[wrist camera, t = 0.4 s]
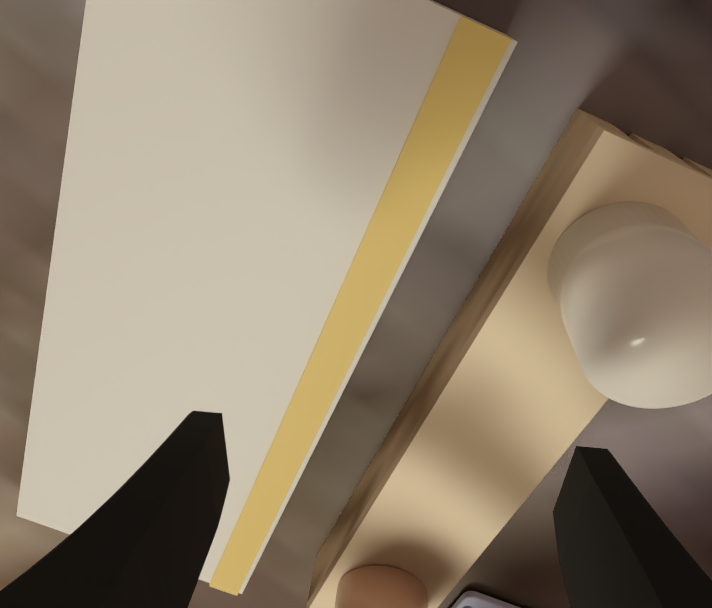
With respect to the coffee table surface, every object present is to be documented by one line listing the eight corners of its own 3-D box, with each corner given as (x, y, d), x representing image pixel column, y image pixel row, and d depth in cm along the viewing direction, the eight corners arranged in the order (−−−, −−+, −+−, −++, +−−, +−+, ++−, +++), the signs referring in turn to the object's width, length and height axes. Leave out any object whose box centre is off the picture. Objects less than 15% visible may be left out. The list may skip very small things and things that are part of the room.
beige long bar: (405, 582, 30) (403, 649, 27) (317, 550, 30) (304, 614, 27) (711, 168, 19) (767, 204, 16) (574, 105, 18) (604, 130, 15)
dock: (255, 549, 30) (240, 597, 27) (47, 475, 29) (14, 518, 26) (506, 34, 17) (518, 42, 15) (150, -131, 16) (102, -151, 14)
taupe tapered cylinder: (636, 342, 18) (686, 429, 15) (522, 295, 18) (545, 373, 14) (723, 234, 16) (805, 305, 13) (596, 179, 16) (645, 236, 12)
